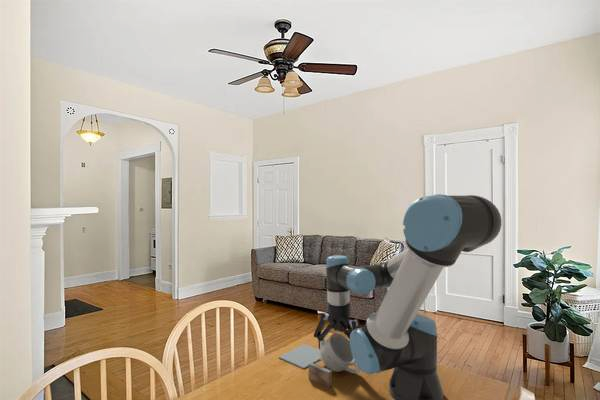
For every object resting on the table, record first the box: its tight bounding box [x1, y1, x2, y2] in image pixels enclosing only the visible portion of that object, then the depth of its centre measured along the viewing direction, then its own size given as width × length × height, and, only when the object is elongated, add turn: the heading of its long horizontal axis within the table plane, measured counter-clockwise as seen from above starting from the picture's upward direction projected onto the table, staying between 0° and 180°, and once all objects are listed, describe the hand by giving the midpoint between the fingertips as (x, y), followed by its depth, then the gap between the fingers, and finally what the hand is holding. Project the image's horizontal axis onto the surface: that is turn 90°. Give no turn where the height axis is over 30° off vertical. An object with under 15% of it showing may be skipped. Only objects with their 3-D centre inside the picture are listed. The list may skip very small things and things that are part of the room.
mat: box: [278, 343, 322, 370], centre depth 123 cm, size 12×14×1 cm
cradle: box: [308, 363, 333, 389], centre depth 113 cm, size 8×21×5 cm, turn 138°
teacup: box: [321, 332, 357, 375], centre depth 112 cm, size 14×11×8 cm
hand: (340, 366), depth 113 cm, fingers closed on teacup, 13 cm apart
